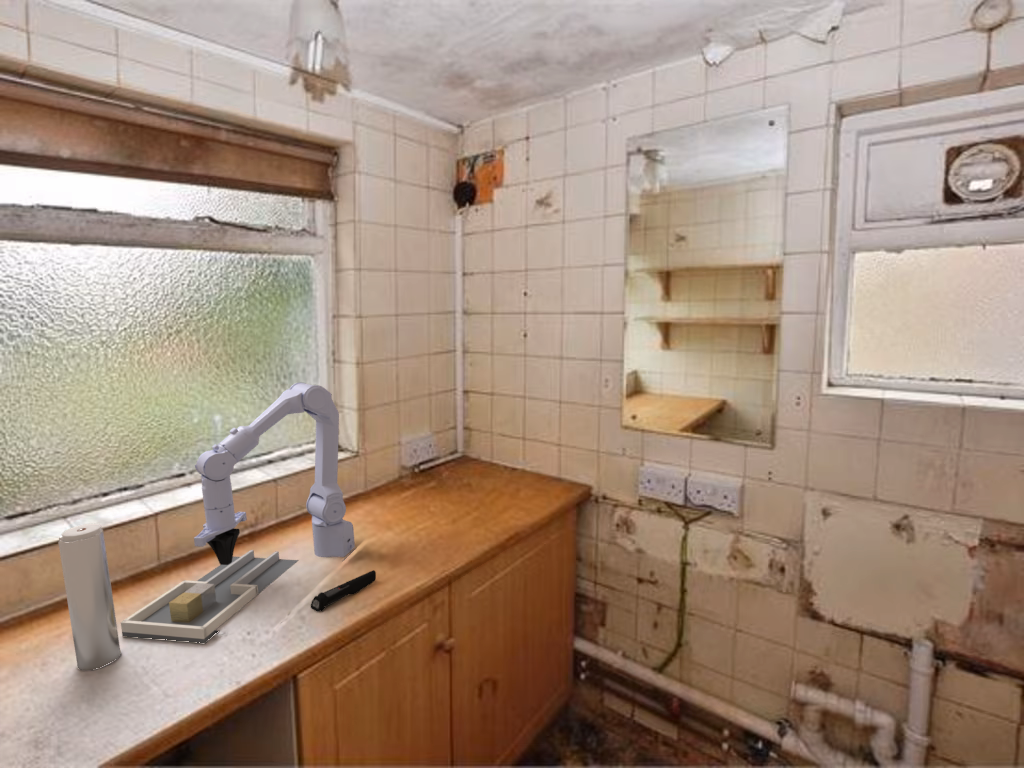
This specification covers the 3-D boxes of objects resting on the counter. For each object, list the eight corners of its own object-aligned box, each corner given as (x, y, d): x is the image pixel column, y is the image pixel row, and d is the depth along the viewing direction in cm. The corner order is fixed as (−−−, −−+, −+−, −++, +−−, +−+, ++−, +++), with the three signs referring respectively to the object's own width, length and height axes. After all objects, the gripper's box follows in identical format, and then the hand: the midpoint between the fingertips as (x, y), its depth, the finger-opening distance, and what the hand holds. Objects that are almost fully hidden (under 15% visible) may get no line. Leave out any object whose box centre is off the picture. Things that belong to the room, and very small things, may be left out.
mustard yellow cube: (203, 611, 117) (200, 593, 117) (188, 622, 113) (186, 603, 113) (186, 610, 118) (183, 592, 117) (171, 621, 114) (168, 602, 114)
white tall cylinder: (92, 650, 107) (73, 523, 103) (128, 647, 107) (110, 521, 104) (68, 672, 100) (47, 537, 97) (107, 669, 101) (87, 535, 97)
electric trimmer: (380, 585, 129) (379, 571, 129) (319, 614, 117) (318, 599, 117) (370, 580, 132) (369, 567, 131) (309, 608, 120) (308, 594, 119)
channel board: (298, 564, 140) (297, 552, 139) (204, 643, 108) (202, 629, 107) (233, 560, 143) (231, 548, 143) (122, 636, 111) (120, 622, 111)
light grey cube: (216, 601, 121) (214, 584, 121) (203, 611, 117) (201, 593, 117) (199, 600, 122) (197, 582, 121) (186, 610, 118) (183, 592, 117)
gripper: (224, 493, 133) (231, 548, 135) (178, 517, 119) (186, 578, 121) (252, 494, 131) (258, 549, 133) (208, 518, 117) (215, 580, 119)
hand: (225, 563), depth 127 cm, fingers closed
